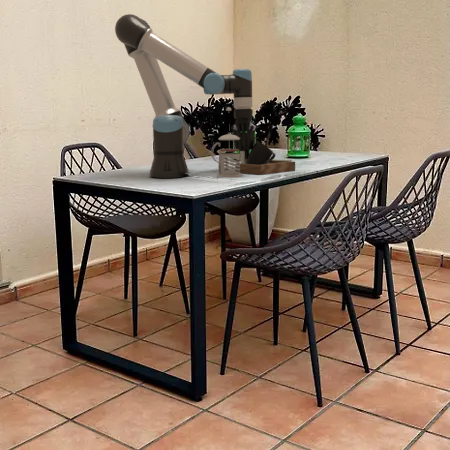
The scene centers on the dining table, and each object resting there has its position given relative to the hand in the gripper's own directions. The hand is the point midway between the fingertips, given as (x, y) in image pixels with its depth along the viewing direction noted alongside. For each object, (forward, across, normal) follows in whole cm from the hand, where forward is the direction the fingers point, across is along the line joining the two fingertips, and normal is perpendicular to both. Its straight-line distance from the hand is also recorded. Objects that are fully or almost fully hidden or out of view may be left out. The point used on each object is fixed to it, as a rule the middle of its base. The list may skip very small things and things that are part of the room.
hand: (244, 166), depth 261 cm
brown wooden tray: (+1, -13, +2) cm, 13 cm away
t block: (+1, -4, -17) cm, 18 cm away
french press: (+2, -13, +22) cm, 25 cm away
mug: (0, -3, -2) cm, 4 cm away
